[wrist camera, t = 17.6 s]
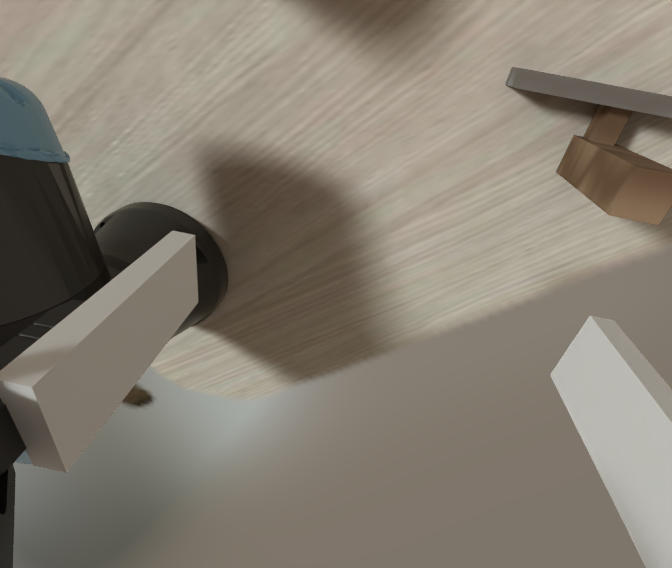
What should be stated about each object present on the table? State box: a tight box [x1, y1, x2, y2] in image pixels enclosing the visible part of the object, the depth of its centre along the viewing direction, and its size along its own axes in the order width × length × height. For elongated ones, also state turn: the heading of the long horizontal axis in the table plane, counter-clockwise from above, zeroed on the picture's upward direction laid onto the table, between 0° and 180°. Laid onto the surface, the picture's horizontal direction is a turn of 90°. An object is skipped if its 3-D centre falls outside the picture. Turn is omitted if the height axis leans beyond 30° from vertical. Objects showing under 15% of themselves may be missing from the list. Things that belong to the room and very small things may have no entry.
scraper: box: [506, 67, 672, 225], centre depth 25 cm, size 7×16×10 cm, turn 81°
